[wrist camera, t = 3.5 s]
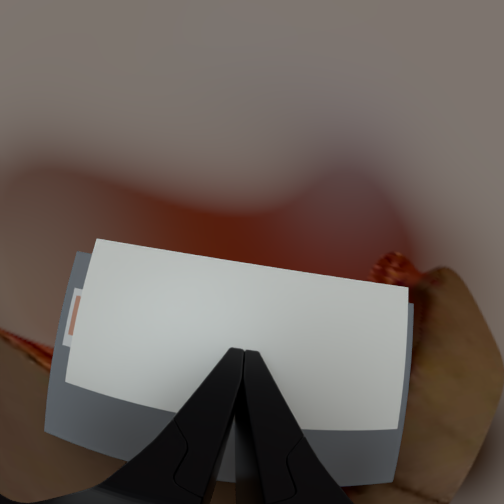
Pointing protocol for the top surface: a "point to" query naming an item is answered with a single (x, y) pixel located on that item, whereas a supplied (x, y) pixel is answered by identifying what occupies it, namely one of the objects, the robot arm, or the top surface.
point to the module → (239, 334)
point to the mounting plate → (154, 420)
